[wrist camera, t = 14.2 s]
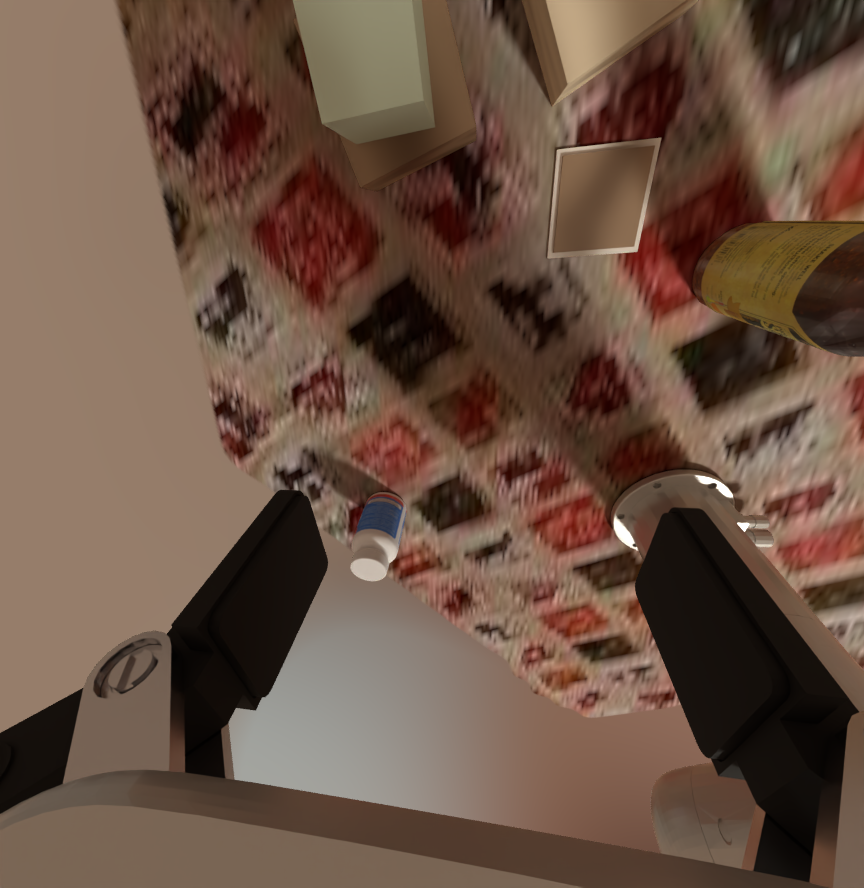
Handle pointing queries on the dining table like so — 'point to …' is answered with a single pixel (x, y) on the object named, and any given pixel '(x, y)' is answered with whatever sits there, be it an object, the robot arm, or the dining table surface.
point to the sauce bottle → (790, 280)
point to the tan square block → (451, 110)
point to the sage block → (368, 66)
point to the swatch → (601, 198)
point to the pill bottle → (378, 536)
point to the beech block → (592, 35)
